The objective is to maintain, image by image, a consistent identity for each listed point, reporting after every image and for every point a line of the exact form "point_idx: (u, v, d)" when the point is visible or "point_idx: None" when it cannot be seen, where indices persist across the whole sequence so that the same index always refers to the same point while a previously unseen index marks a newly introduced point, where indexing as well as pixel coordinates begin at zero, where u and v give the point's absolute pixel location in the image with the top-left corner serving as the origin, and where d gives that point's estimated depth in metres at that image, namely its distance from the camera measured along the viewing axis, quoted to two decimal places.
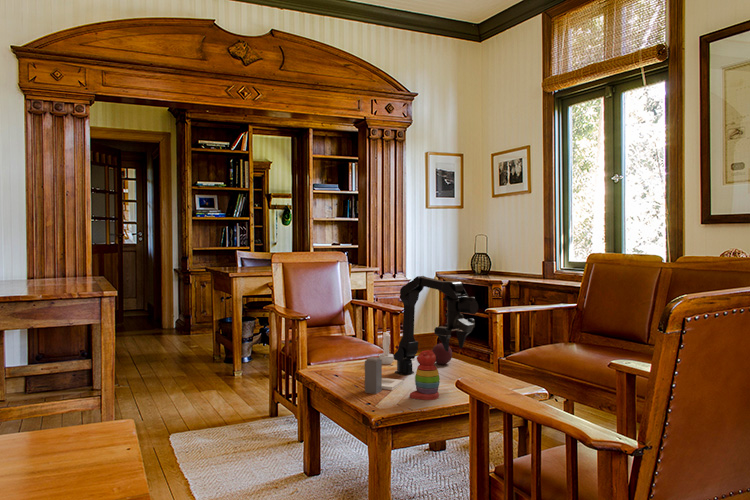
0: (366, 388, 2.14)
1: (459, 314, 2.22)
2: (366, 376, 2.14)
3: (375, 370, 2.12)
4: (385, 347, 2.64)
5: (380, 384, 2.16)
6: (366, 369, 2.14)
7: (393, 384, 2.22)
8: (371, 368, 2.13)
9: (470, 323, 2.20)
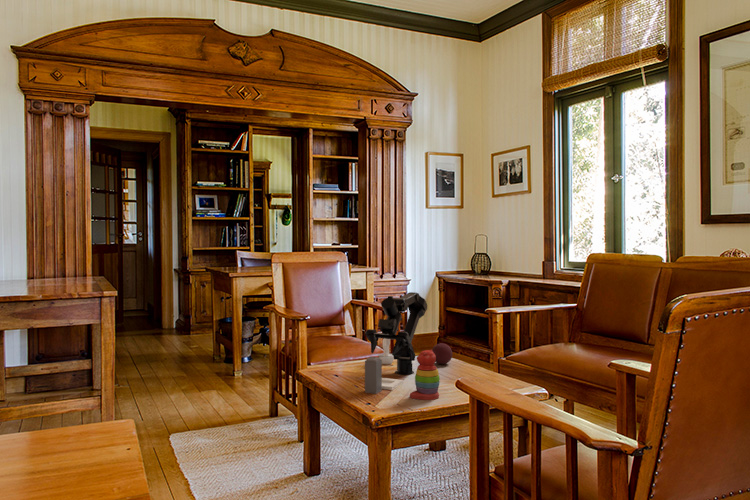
0: (366, 388, 2.14)
1: (390, 320, 2.30)
2: (366, 376, 2.14)
3: (375, 370, 2.12)
4: (385, 347, 2.64)
5: (380, 384, 2.16)
6: (366, 369, 2.14)
7: (393, 384, 2.22)
8: (371, 368, 2.13)
9: None
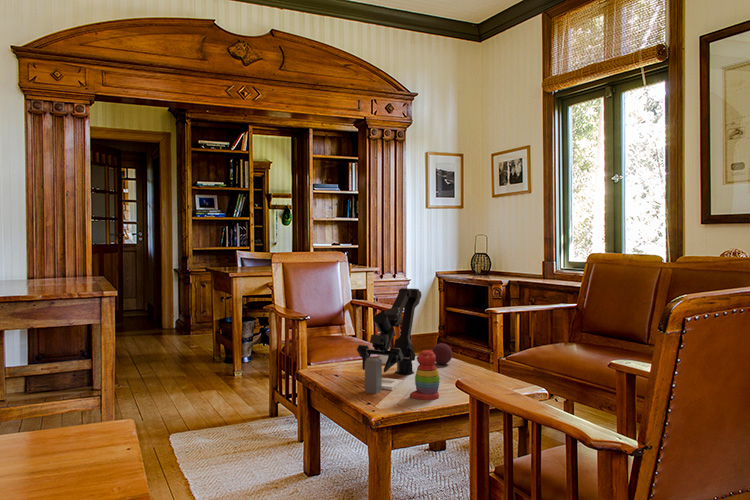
0: (366, 388, 2.14)
1: (382, 335, 2.23)
2: (366, 376, 2.14)
3: (375, 370, 2.12)
4: None
5: (380, 384, 2.16)
6: (366, 369, 2.14)
7: (393, 384, 2.22)
8: (371, 368, 2.13)
9: None
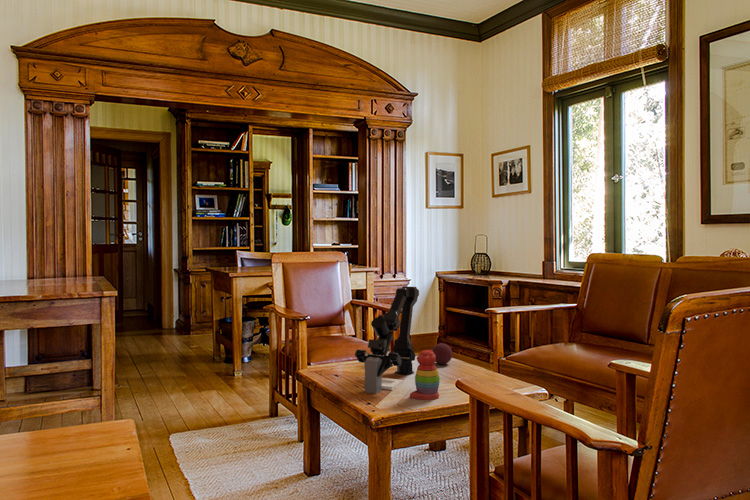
0: (366, 388, 2.14)
1: (380, 340, 2.22)
2: (366, 376, 2.14)
3: (375, 370, 2.12)
4: None
5: (380, 384, 2.16)
6: (366, 369, 2.14)
7: (393, 384, 2.22)
8: (371, 368, 2.13)
9: None
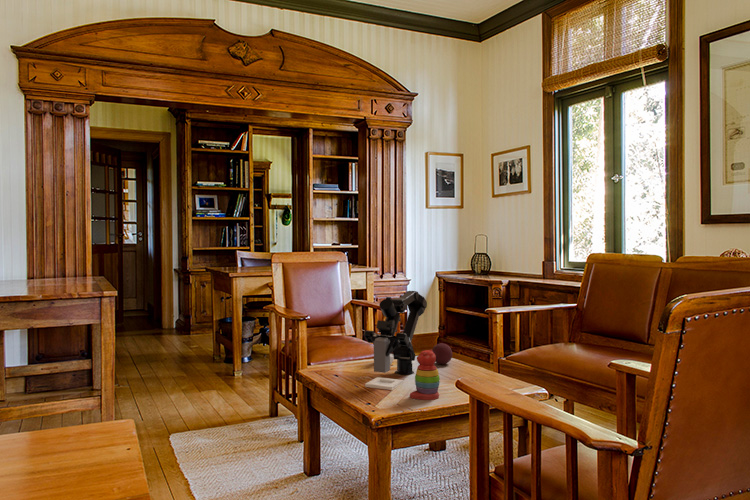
0: (375, 367, 2.22)
1: None
2: (375, 355, 2.21)
3: (384, 349, 2.20)
4: None
5: (389, 363, 2.24)
6: (375, 349, 2.21)
7: (393, 384, 2.22)
8: (379, 347, 2.21)
9: None
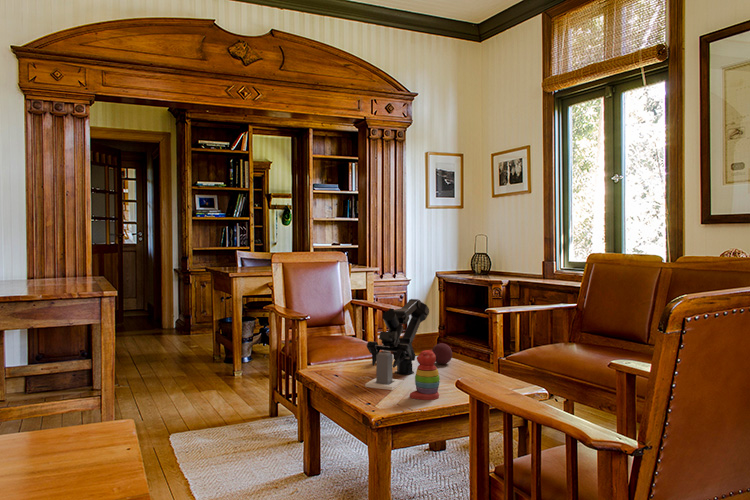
0: (378, 381, 2.24)
1: None
2: (378, 369, 2.24)
3: (386, 363, 2.22)
4: None
5: (391, 377, 2.26)
6: (378, 363, 2.24)
7: (393, 384, 2.22)
8: (382, 361, 2.23)
9: None
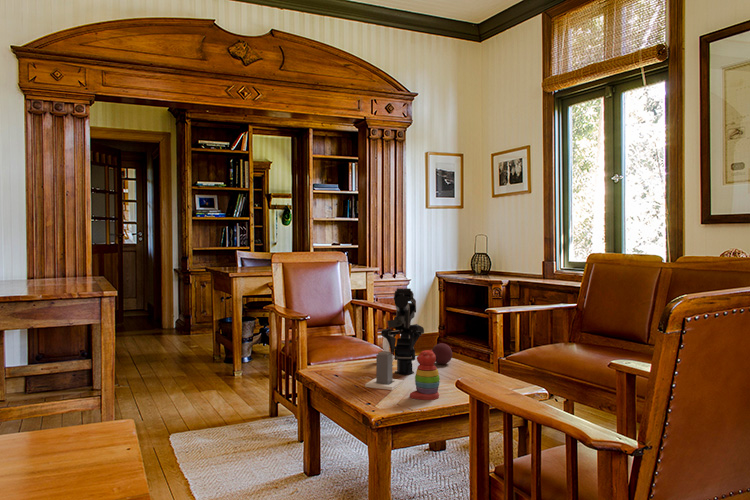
0: (378, 381, 2.24)
1: (399, 315, 2.34)
2: (378, 369, 2.24)
3: (386, 363, 2.22)
4: (385, 347, 2.64)
5: (391, 377, 2.26)
6: (378, 363, 2.24)
7: (393, 384, 2.22)
8: (382, 361, 2.23)
9: (394, 319, 2.29)
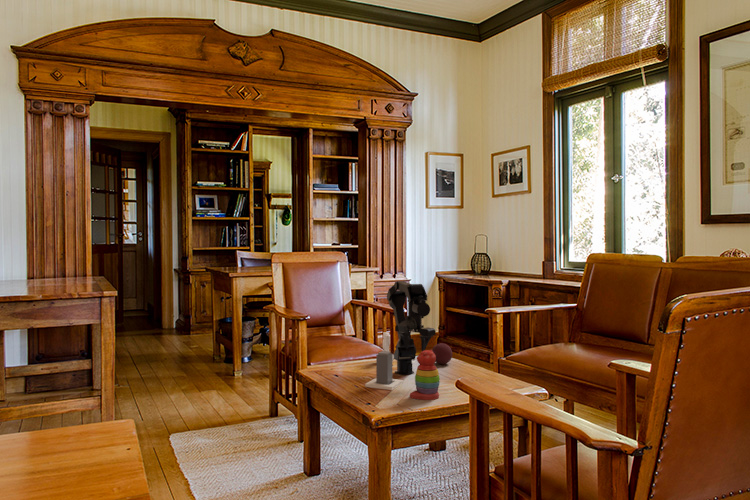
0: (378, 381, 2.24)
1: (410, 315, 2.30)
2: (378, 369, 2.24)
3: (386, 363, 2.22)
4: (385, 347, 2.64)
5: (391, 377, 2.26)
6: (378, 363, 2.24)
7: (393, 384, 2.22)
8: (382, 361, 2.23)
9: (404, 325, 2.26)
